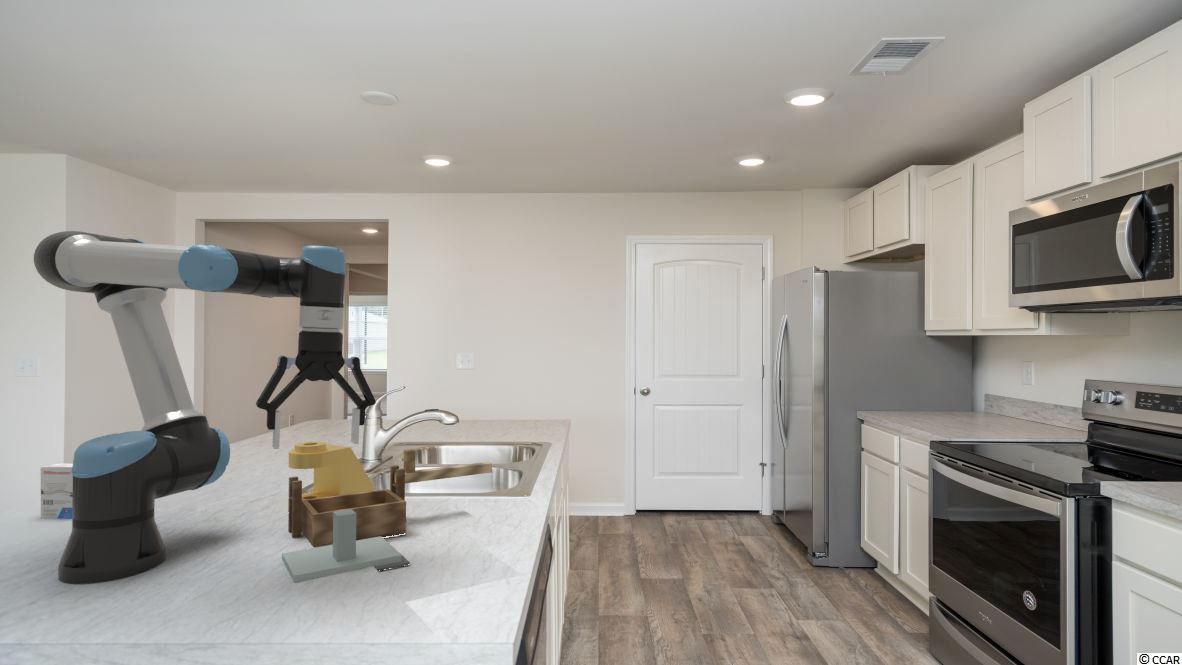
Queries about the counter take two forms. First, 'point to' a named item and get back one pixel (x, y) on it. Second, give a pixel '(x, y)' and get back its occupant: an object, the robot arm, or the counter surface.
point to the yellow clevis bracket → (330, 469)
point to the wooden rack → (372, 509)
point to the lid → (340, 552)
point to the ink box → (56, 491)
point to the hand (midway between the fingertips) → (316, 445)
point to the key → (440, 470)
